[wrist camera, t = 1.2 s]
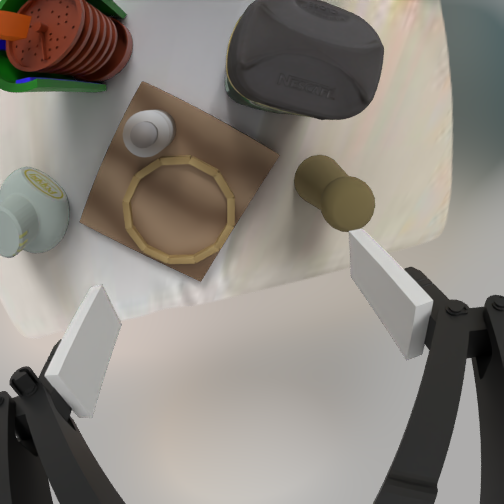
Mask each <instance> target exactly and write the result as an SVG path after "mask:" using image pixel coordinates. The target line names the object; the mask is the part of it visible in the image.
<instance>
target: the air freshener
mask: <svg viewBox="0 0 504 504" xmlns="http://www.w3.org/2000/svg"><path fill="white" fill-rule="evenodd" d="M68 222H69V204H68V200H67V196H66V194H65V192H64V190H63V189H62V188H61V187H60V186H59V185H58V184H57V183H56V182H55V181H54V180H53V179H52V178H50V177H49V176H47V175H46V174H44V173H43V172H41V171H39V170H37V169H34V168H31V167H23V168H20V169H18V170H16V171H14V172H13V173H12V174H10V175H9V176H8V177H7V179H6V180H5V181H4V183H3V184H2V186H1V188H0V255H1V256H3V257H7V258H11V257H14V256H15V255H17V254H18V253H19V252H20V251H22V250H25V251H27V252H31V253H42V252H46V251H48V250H50V249H52V248H54V247H55V246H56V245H57V244H58V243H59V242H60V241H61V239H62V238H63V236H64V234H65V232H66V230H67V226H68Z"/></svg>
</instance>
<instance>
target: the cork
mask: <svg viewBox="0 0 504 504" xmlns="http://www.w3.org/2000/svg"><path fill="white" fill-rule="evenodd" d="M294 182H295V188H296V190H297V192H298V194H299V195H300V196H301V197H302V198H303V199H304V200H305V201H307V202H308V203H310V204H312V205H313V206H315V207H317V208H318V209H320V210H321V212H322V214H323V216H324V218H325V220H326V221H327V223H329V224H330V225H331V226H332V227H333V228H335V229H337V230H340V231H342V232H349V231H352V230H357V229H360V228H362V227H364V226H365V225H366V224H367V223H368V222H369V221H370V219H371V217H372V215H373V212H374V208H375V198H374V195H373V193H372V190H371V189H370V188H369V186H368V185H367V184H366V183H365V182H363V181H361V180H360V179H358V178H356V177H350V176H348V175H347V174H346V173H345V172H344V170H343V169H342V168H341V167H340V166H339V165H338V164H337V163H336V162H335V161H334V160H333V159H331V158H329V157H327V156H322V155H317V156H311V157H310V158H308V159H306V160H304V161H303V162H302V163H301V164H300V166H299V167H298V169H297V171H296V173H295V180H294Z"/></svg>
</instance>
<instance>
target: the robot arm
mask: <svg viewBox="0 0 504 504" xmlns="http://www.w3.org/2000/svg"><path fill="white" fill-rule="evenodd" d="M349 244H350V267H351V278H352V279H353V281H354V282H355V283H356V285H357V286H358V288H359V289H360V291H361V292H362V294H363V295H364V296H365V298H366V300H367V301H368V302H369V304H370V305H371V307H372V308H373V310H374V311H375V313H376V314H377V316H378V317H379V319H380V320H381V322H382V323H383V325H384V326H385V328H386V329H387V331H388V332H389V334H390V336H391V337H392V339H393V340H394V342H395V343H396V345H397V346H398V348H399V349H400V351H401V353H402V354H403V356H404V357H405V359H406V360H409V359H412V358H414V357H417V356H419V355H422V353H423V349H424V344H425V345H426V346H427V347H428V349H429V350H430V351H429V355H428V358H427V362H426V366H425V370H424V374H423V377H422V381H421V384H420V388H419V391H418V394H417V397H416V401H415V404H414V407H413V410H412V413H411V416H410V418H409V421H408V424H407V427H406V430H405V432H404V435H403V438H402V440H401V443H400V445H399V448H398V451H397V453H396V455H395V457H394V460H393V462H392V465H391V467H390V469H389V471H388V473H387V476H386V478H385V480H384V482H383V484H382V486H381V488H380V490H379V493H378V494H377V497H376V499H375V501H374V502H373V504H434V502H435V499H436V496H437V492H438V489H437V483H438V479H439V477H440V474H441V470H442V467H443V464H444V461H445V458H446V454H447V451H448V447H449V444H450V440H451V436H452V433H453V428H454V424H455V420H456V415H457V411H458V406H459V401H460V396H461V391H462V385H463V379H464V372H465V365H466V358H472V364H473V370H474V377H475V383H476V391H477V400H478V410H479V421H480V437H481V494H480V504H504V297H503V296H499V295H493V296H490V297H488V298H487V300H486V302H485V306H484V307H478V308H469V307H468V306H467V305H466V304H465V303H463V302H462V301H458V300H449V299H448V298H447V297H446V296H445V295H444V294H443V293H442V292H441V291H440V290H439V289H438V288H437V287H436V286H435V285H434V284H432V282H431V281H430V280H429V279H427V277H426V276H425V275H424V274H423V273H422V272H421V271H420V270H417V269H415V268H413V267H409V268H405V269H403V268H402V267H401V266H400V265H399V264H398V263H397V262H396V261H395V260H394V259H393V258H392V257H391V256H390V255H389V254H388V253H387V252H386V251H385V250H384V249H383V248H382V247H381V246H380V245H379V244H378V243H377V242H376V241H375V240H374V239H373V238H372V237H371V236H370V235H369V234H368V233H367V232H366V231H365V230H364V229H363V228H361V229H357V230H352V231H349ZM121 325H122V324H121V322H120V320H119V318H118V316H117V314H116V312H115V310H114V308H113V306H112V304H111V302H110V300H109V297H108V295H107V293H106V291H105V289H104V287H103V284H102V285H97V286H92V287H90V289H89V291H88V293H87V294H86V296H85V298H84V300H83V301H82V303H81V305H80V307H79V308H78V310H77V312H76V314H75V316H74V318H73V319H72V321H71V323H70V325H69V327H68V329H67V331H66V333H65V334H64V336H63V338H62V339H61V340H60V341H59V342H58V343H57V344H56V345H55V346H54V347H53V349H52V351H51V353H50V356H49V357H48V360H47V362H46V363H45V365H44V367H43V369H42V372H41V374H40V376H39V378H37V376H36V375H35V373H34V372H33V371H32V369H31V368H30V367H22V368H20V369H18V370H17V371H16V372H14V374H13V375H12V376H11V379H10V385H11V387H12V388H13V389H14V390H15V392H16V393H17V394H18V395H19V396H17V397H14V398H11V396H10V395H9V394H8V393H7V392H6V391H2V392H0V504H53V501H52V497H51V492H50V487H49V481H50V484H51V486H52V488H53V490H54V492H55V495H56V497H57V499H58V501H59V503H60V504H125V502H124V501H123V500H122V498H121V497H120V495H119V494H118V493H117V491H116V490H115V488H114V487H113V485H112V484H111V483H110V481H109V479H108V478H107V476H106V475H105V473H104V472H103V470H102V469H101V467H100V466H99V464H98V462H97V461H96V459H95V457H94V456H93V454H92V452H91V451H90V449H89V447H88V446H87V444H86V442H85V440H84V438H83V437H82V435H81V433H80V431H79V429H78V428H77V426H76V424H75V422H74V420H73V419H72V418H71V417H70V413H71V410H73V411H74V412H75V414H76V415H77V416H78V417H80V418H92V417H93V414H94V410H95V407H96V403H97V400H98V396H99V393H100V389H101V386H102V383H103V379H104V376H105V373H106V370H107V367H108V364H109V360H110V357H111V354H112V351H113V348H114V345H115V342H116V339H117V336H118V334H119V330H120V328H121ZM16 436H17V438H16ZM48 479H49V481H48Z"/></svg>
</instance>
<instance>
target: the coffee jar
mask: <svg viewBox="0 0 504 504" xmlns="http://www.w3.org/2000/svg"><path fill="white" fill-rule="evenodd" d="M383 56H384V47H383V45H382V43H381V40H380V38H379V36H378V35H377V33H376V32H375V30H374V29H373V28H372V27H371V26H370V25H369V24H368V23H367V22H366V21H365V20H363V19H362V18H360V17H359V16H357V15H355V14H353V13H351V12H348V11H346V10H344V9H341V8H339V7H336V6H334V5H331V4H329V3H326V2H323V1H320V0H255V1H254V2H253V3H252V4H250V5H249V6H248V8H247V9H246V10H245V12H244V14H243V15H242V16H241V17H240V18H239V20H238V21H237V23H236V25H235V27H234V29H233V32H232V34H231V37H230V40H229V44H228V49H227V55H226V73H225V88H226V91H227V93H228V95H229V96H230V97H231V98H232V99H233V100H234V101H236V102H237V103H240V104H242V105H245V106H248V107H252V108H255V109H259V110H264V111H269V112H274V113H282V114H293V115H300V116H307V117H313V118H317V119H320V120H325V119H327V120H340V119H346V118H350V117H353V116H355V115H357V114H359V113H360V112H362V111H363V110H364V109H365V108H366V107H367V106H368V105H369V104H370V103H371V101H372V100H373V98H374V95H375V92H376V90H377V87H378V83H379V79H380V75H381V70H382V64H383Z"/></svg>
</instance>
